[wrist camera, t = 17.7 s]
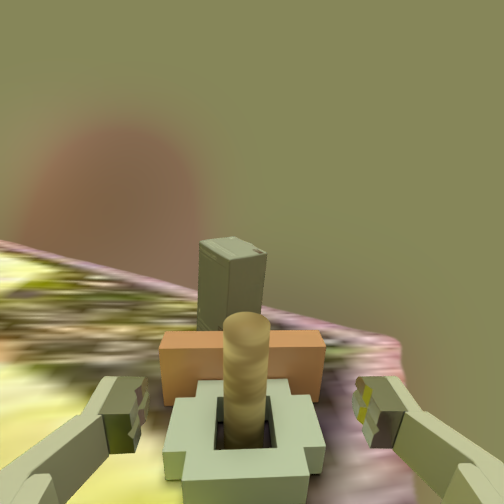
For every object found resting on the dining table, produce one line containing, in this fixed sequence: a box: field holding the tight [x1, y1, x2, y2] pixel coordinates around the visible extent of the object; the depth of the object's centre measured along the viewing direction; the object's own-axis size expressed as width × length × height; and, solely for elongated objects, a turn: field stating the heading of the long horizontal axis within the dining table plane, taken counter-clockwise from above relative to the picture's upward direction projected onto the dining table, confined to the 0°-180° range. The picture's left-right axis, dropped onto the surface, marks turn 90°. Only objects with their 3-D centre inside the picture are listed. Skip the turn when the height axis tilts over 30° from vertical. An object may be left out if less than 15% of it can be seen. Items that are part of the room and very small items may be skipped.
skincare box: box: [197, 236, 267, 331], centre depth 41 cm, size 8×7×16 cm
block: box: [162, 379, 326, 504], centre depth 27 cm, size 10×14×4 cm
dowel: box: [223, 312, 270, 450], centre depth 26 cm, size 4×4×14 cm
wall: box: [159, 330, 326, 406], centre depth 32 cm, size 3×18×8 cm, turn 93°
